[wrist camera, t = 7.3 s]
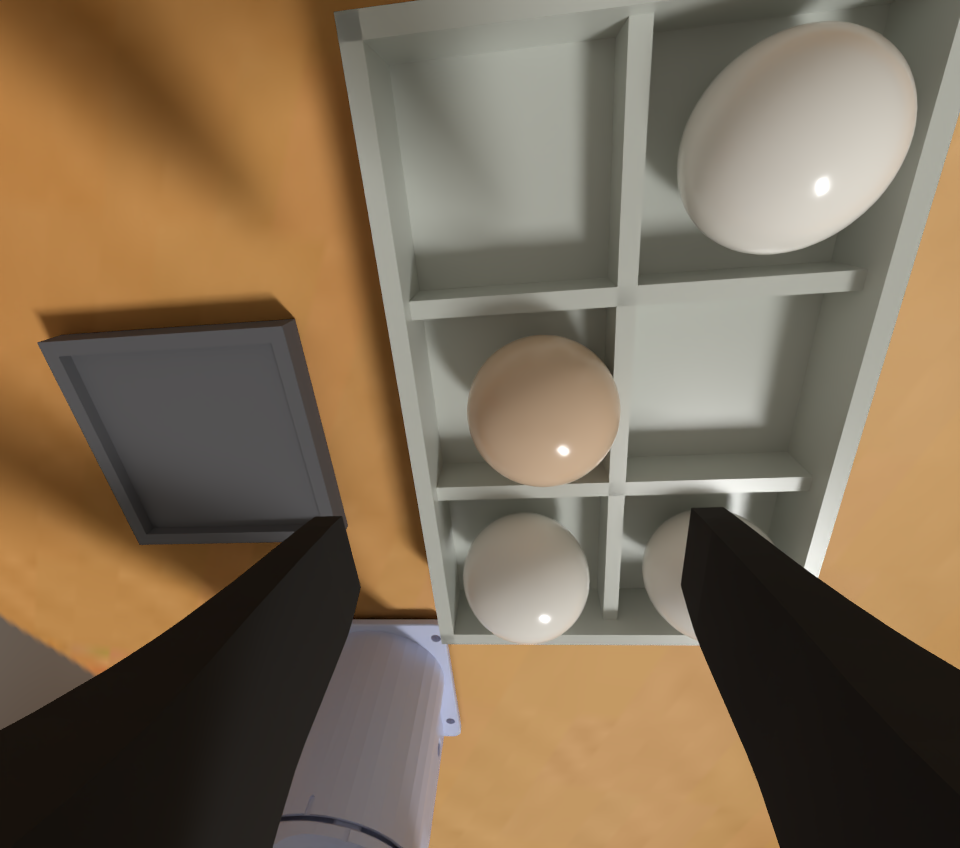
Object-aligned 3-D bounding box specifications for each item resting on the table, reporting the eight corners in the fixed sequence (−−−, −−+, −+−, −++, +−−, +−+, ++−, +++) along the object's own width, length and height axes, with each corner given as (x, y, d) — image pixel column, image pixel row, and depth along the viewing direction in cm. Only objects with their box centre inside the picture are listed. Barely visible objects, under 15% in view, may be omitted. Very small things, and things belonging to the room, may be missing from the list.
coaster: (347, 525, 23) (339, 540, 22) (155, 529, 24) (139, 544, 23) (294, 318, 18) (282, 326, 17) (61, 334, 19) (37, 342, 18)
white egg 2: (741, 575, 21) (800, 677, 17) (627, 576, 22) (655, 676, 17) (760, 481, 19) (835, 570, 15) (633, 485, 20) (667, 572, 15)
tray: (759, 584, 22) (797, 646, 19) (451, 587, 24) (442, 644, 21) (900, -21, 13) (1019, -86, 10) (372, 47, 14) (332, 9, 11)
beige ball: (575, 432, 20) (647, 496, 15) (458, 458, 18) (499, 534, 14) (576, 311, 17) (660, 345, 13) (443, 331, 16) (487, 375, 12)
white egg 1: (581, 576, 22) (596, 675, 18) (474, 577, 22) (463, 673, 18) (582, 486, 20) (600, 573, 15) (463, 490, 20) (448, 574, 16)
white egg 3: (811, 238, 15) (935, 258, 11) (650, 250, 16) (703, 275, 11) (852, 42, 13) (1030, -36, 8) (663, 64, 13) (736, 0, 9)
